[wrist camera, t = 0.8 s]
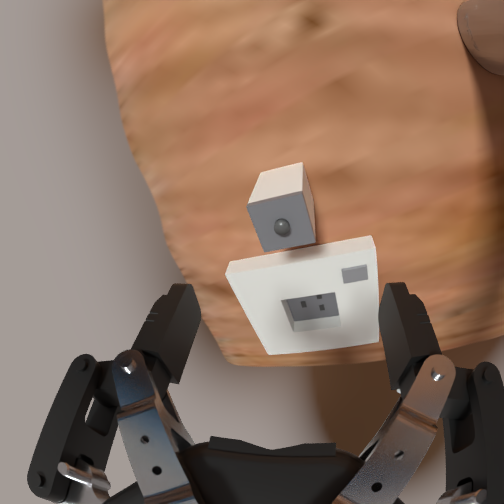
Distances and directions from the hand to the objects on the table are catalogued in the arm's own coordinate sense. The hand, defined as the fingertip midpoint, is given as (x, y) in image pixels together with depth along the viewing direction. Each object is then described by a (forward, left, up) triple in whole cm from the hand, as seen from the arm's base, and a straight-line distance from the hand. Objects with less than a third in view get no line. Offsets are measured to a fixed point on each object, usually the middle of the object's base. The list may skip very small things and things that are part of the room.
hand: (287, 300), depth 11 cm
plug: (+2, +3, -19) cm, 19 cm away
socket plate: (+3, +20, -19) cm, 28 cm away
